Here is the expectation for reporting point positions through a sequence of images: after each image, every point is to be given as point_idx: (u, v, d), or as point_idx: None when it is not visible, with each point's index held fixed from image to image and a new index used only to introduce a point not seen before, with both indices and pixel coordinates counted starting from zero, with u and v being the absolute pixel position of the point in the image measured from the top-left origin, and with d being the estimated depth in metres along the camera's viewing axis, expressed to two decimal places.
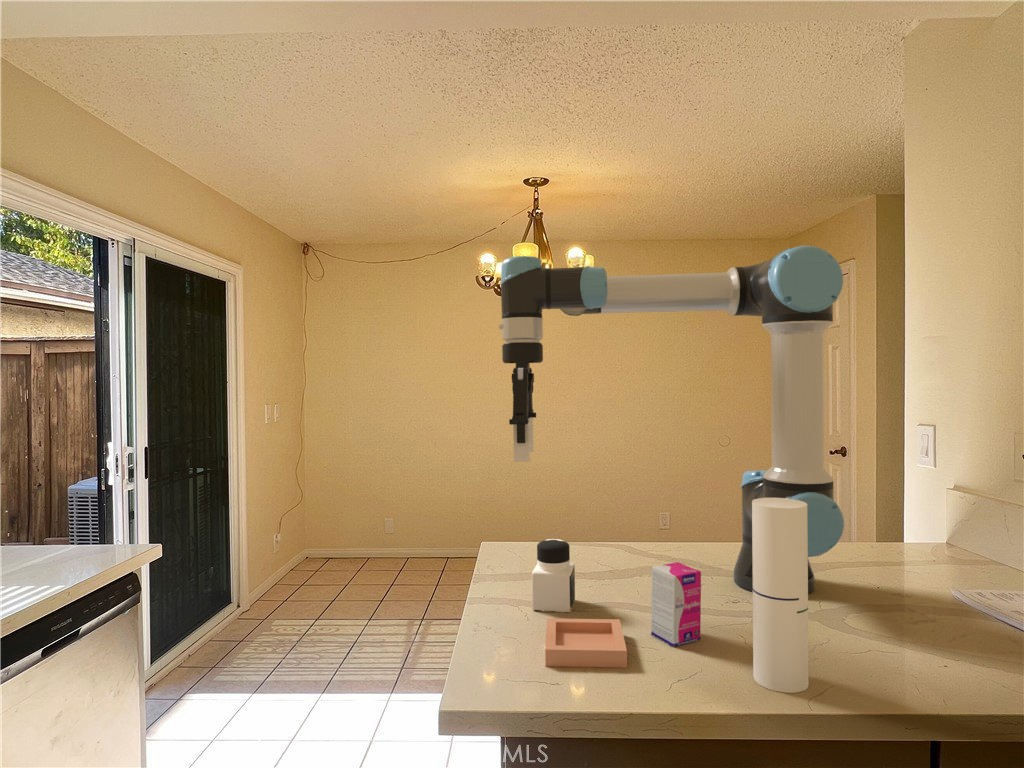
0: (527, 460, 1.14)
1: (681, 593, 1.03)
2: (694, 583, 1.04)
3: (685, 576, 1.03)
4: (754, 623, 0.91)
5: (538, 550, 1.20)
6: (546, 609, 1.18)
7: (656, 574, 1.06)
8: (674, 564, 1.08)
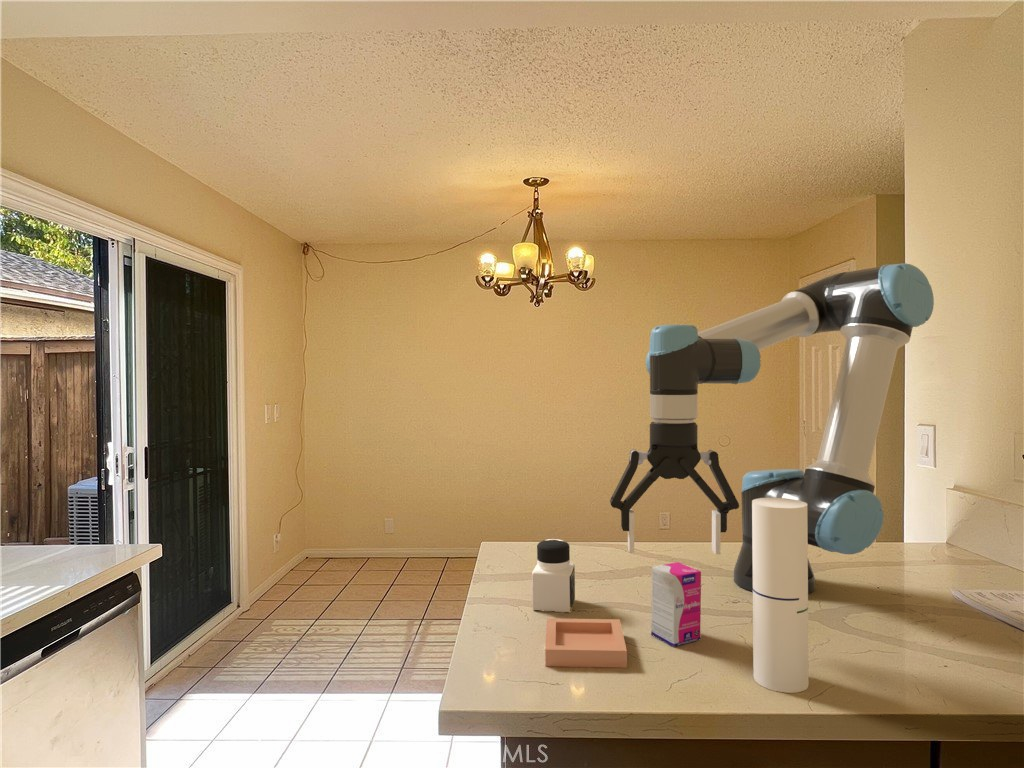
0: (629, 550, 1.05)
1: (681, 593, 1.03)
2: (694, 583, 1.04)
3: (685, 576, 1.03)
4: (754, 623, 0.91)
5: (538, 550, 1.20)
6: (546, 609, 1.18)
7: (656, 574, 1.06)
8: (674, 564, 1.08)
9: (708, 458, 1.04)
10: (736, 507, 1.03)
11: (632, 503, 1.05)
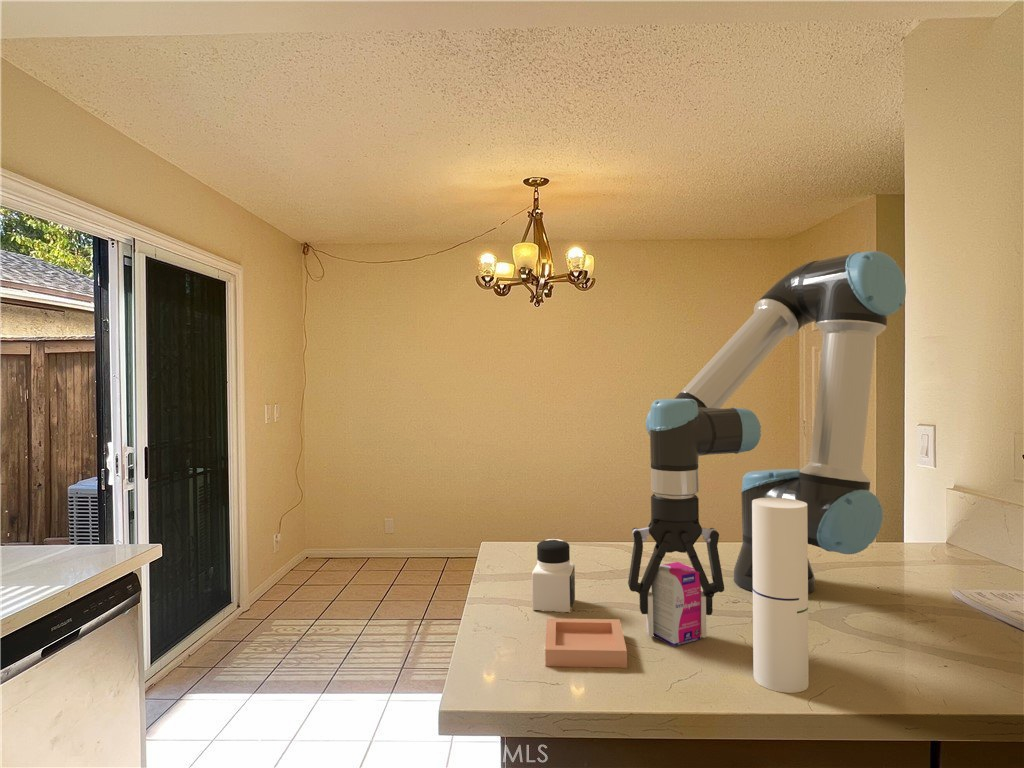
0: (648, 634, 1.05)
1: (681, 593, 1.03)
2: (694, 583, 1.04)
3: (684, 576, 1.03)
4: (754, 623, 0.91)
5: (538, 550, 1.20)
6: (546, 609, 1.18)
7: (656, 574, 1.06)
8: (674, 564, 1.08)
9: (708, 536, 1.05)
10: (721, 590, 1.04)
11: (649, 585, 1.05)
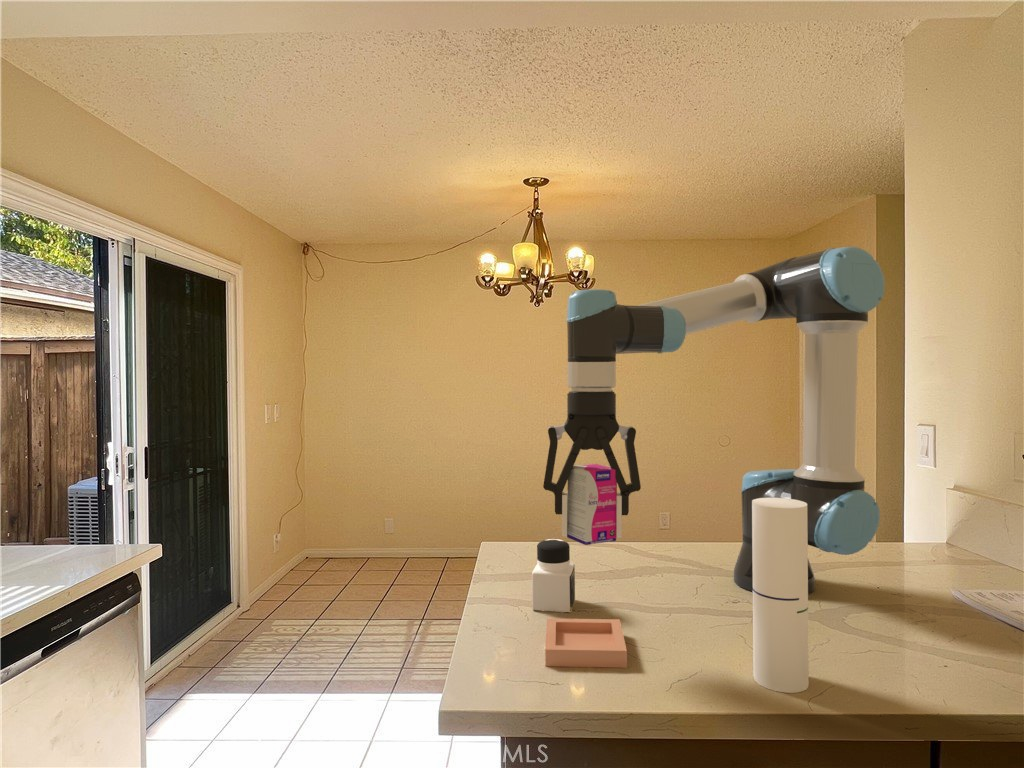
0: (562, 534, 1.01)
1: (594, 490, 0.99)
2: (609, 481, 1.00)
3: (599, 472, 0.99)
4: (754, 623, 0.91)
5: (538, 550, 1.20)
6: (546, 609, 1.18)
7: (571, 473, 1.02)
8: (592, 465, 1.04)
9: (625, 433, 1.01)
10: (637, 489, 1.00)
11: (563, 483, 1.01)
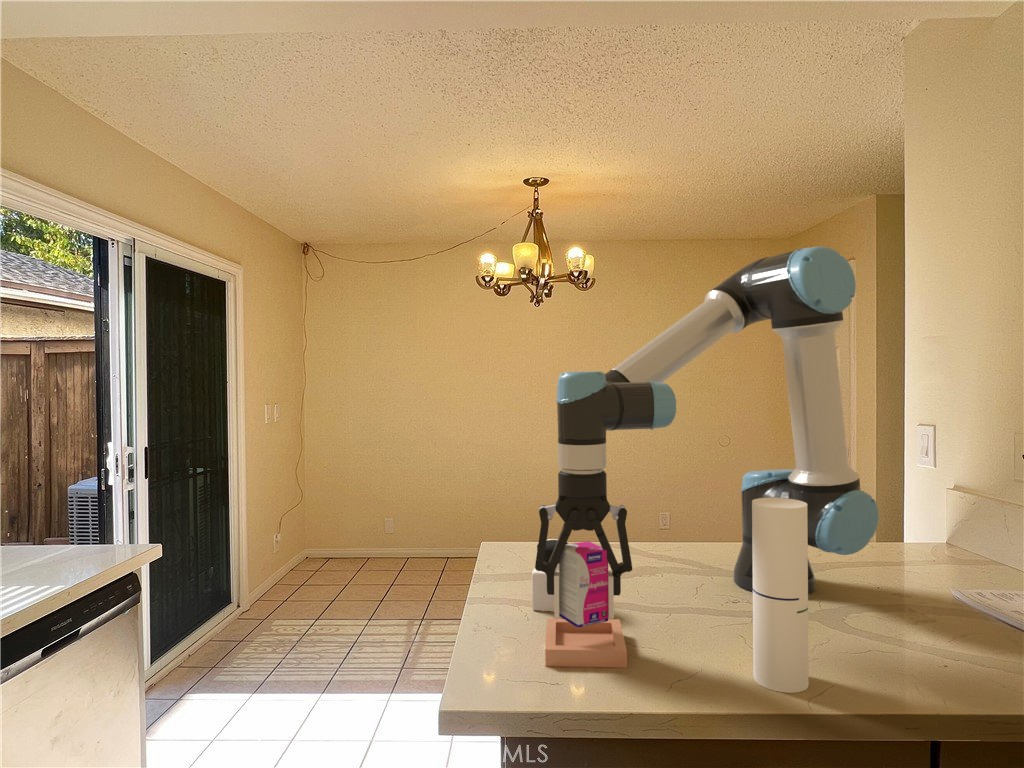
0: (554, 615, 1.01)
1: (586, 572, 0.99)
2: (601, 562, 1.00)
3: (590, 554, 0.99)
4: (754, 623, 0.91)
5: None
6: (546, 609, 1.18)
7: (563, 553, 1.02)
8: (583, 543, 1.04)
9: (617, 513, 1.01)
10: (628, 570, 1.00)
11: (555, 564, 1.01)
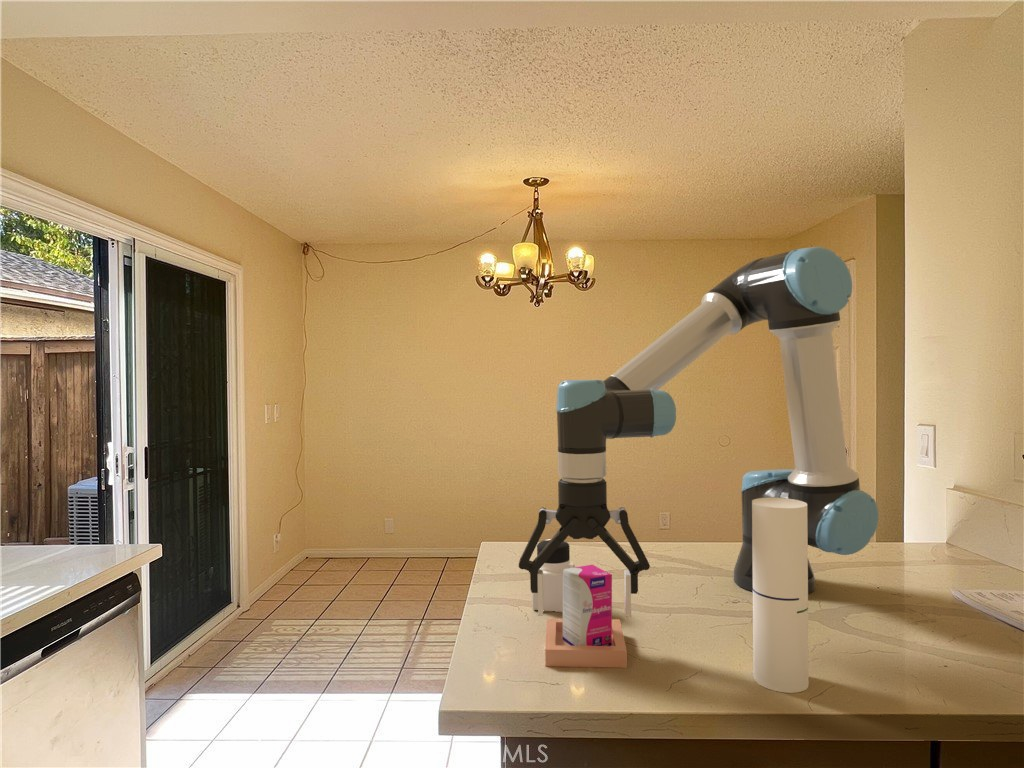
0: (538, 613, 1.02)
1: (589, 597, 0.99)
2: (604, 587, 1.00)
3: (593, 579, 0.99)
4: (754, 623, 0.91)
5: (538, 550, 1.20)
6: (546, 609, 1.18)
7: (566, 577, 1.02)
8: (587, 567, 1.04)
9: (618, 517, 1.01)
10: (647, 568, 1.00)
11: (540, 564, 1.01)
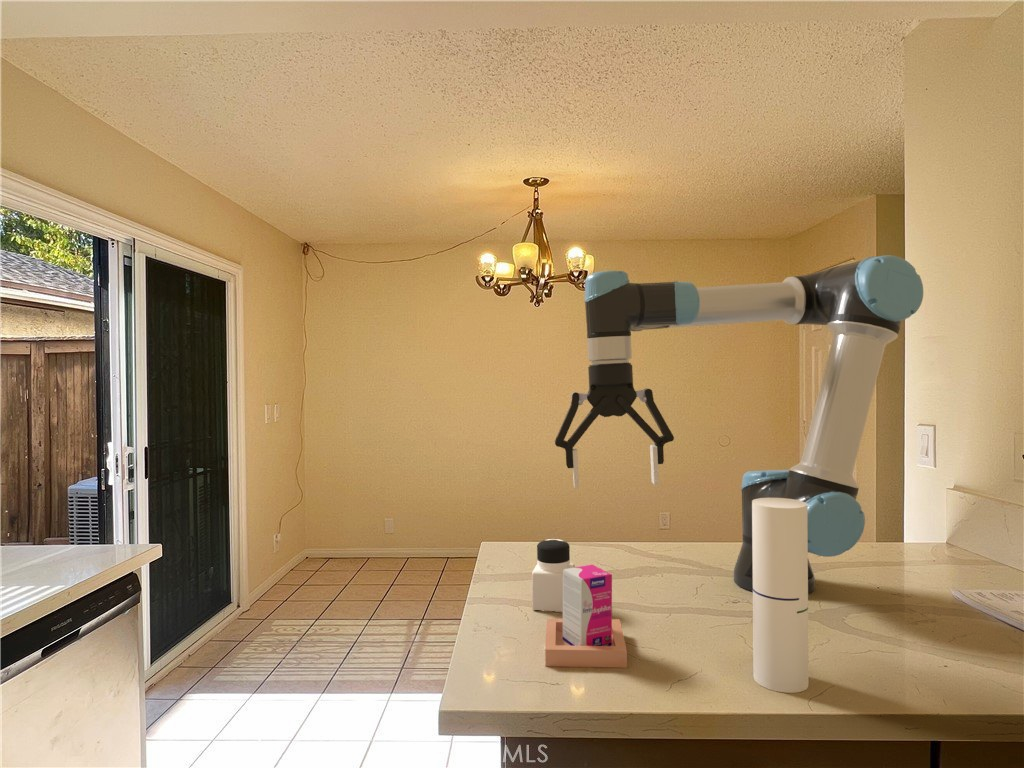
0: (574, 486, 1.12)
1: (589, 597, 0.99)
2: (604, 587, 1.00)
3: (593, 579, 0.99)
4: (754, 623, 0.91)
5: (538, 550, 1.20)
6: (546, 609, 1.18)
7: (566, 577, 1.02)
8: (587, 567, 1.04)
9: (643, 395, 1.12)
10: (671, 439, 1.11)
11: (575, 441, 1.11)
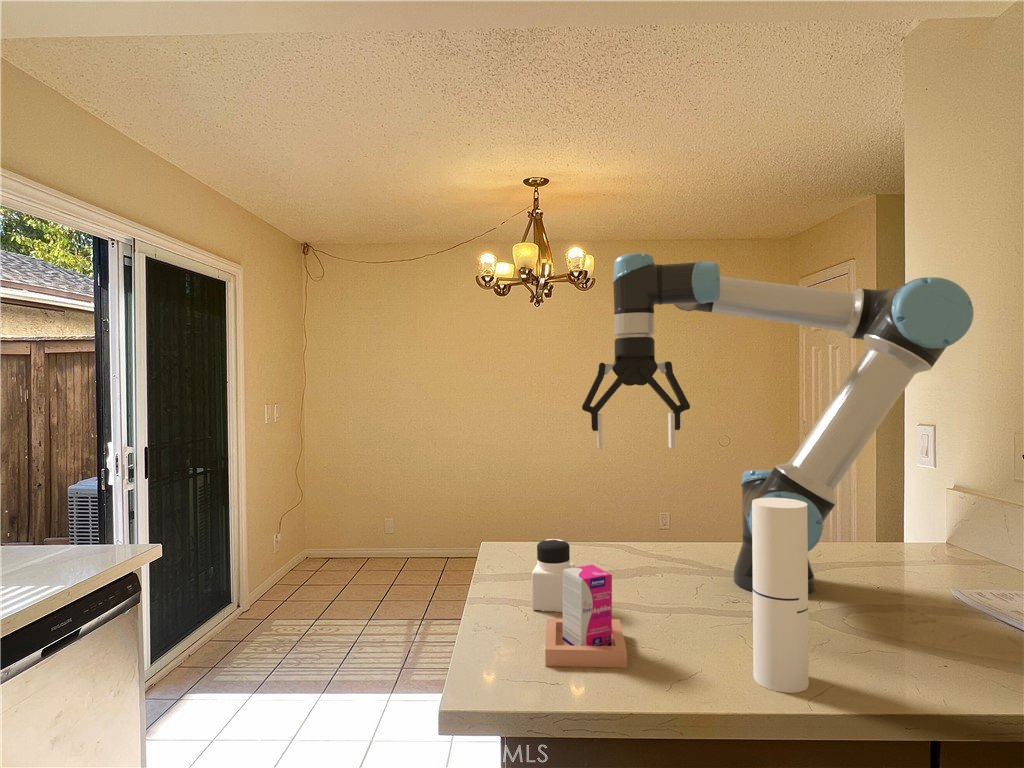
0: (598, 447, 1.24)
1: (589, 597, 0.99)
2: (604, 587, 1.00)
3: (593, 579, 0.99)
4: (754, 623, 0.91)
5: (538, 550, 1.20)
6: (546, 609, 1.18)
7: (566, 577, 1.02)
8: (587, 567, 1.04)
9: (664, 367, 1.23)
10: (687, 408, 1.22)
11: (600, 407, 1.24)
